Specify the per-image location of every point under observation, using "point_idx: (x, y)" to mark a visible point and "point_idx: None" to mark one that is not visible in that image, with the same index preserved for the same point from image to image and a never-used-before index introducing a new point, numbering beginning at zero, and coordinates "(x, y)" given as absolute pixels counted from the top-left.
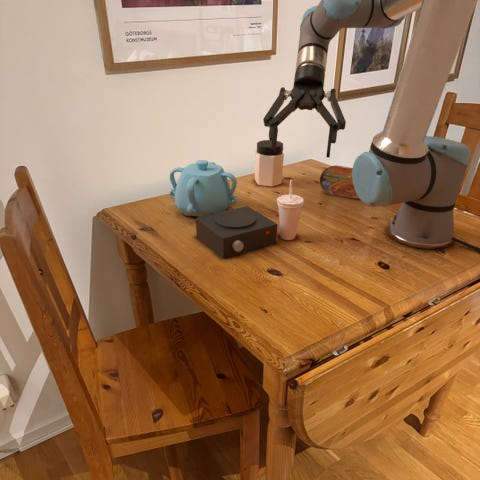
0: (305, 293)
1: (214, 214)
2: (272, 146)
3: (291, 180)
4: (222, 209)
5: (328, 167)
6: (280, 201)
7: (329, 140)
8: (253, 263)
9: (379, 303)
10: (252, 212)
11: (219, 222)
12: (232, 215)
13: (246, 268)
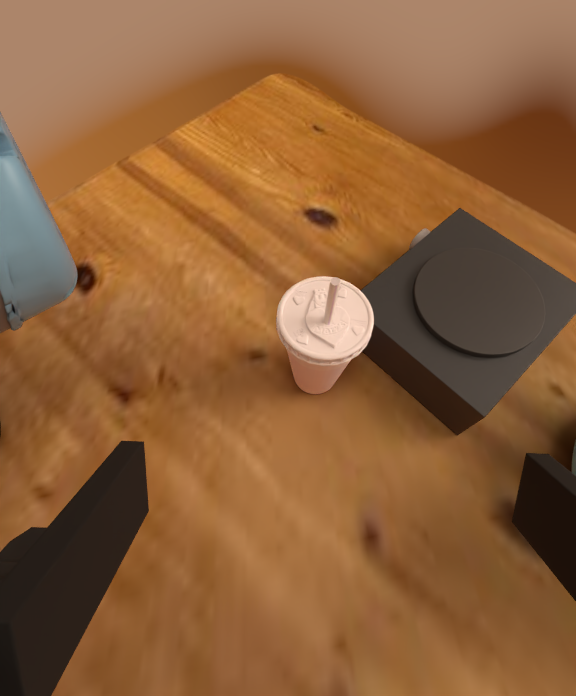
0: (256, 171)
1: (555, 327)
2: (555, 465)
3: (334, 279)
4: (573, 450)
5: None
6: (356, 291)
7: (90, 497)
8: (371, 239)
9: (132, 167)
10: (446, 364)
11: (507, 263)
12: (494, 310)
13: (379, 220)
